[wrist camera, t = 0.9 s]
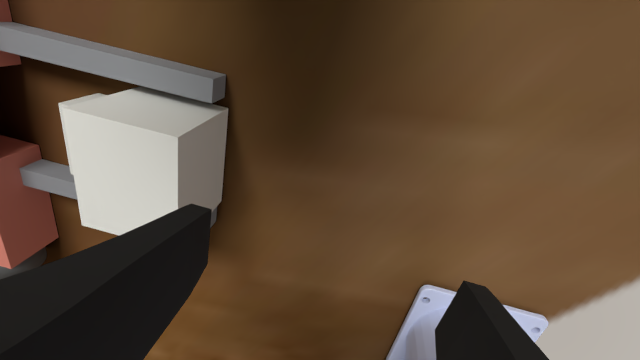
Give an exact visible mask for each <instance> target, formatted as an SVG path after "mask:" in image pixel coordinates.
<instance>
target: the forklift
mask: <svg viewBox="0 0 640 360" xmlns="http://www.w3.org/2000/svg"><path fill="white" fill-rule="evenodd" d="M20 55H21V56H25V57H29V58H33V59H37V60H41V61H45V62H49V63H53V64H56V65H60V66H64V67H68V68H72V69H76V70H80V71H84V72H88V73H92V74H96V75H100V76H104V77H108V78H112V79H116V80H120V81H124V82H128V83H132V84H136V85H140V86H144V87H148V88H152V89H156V90H160V91H164V92H168V93H172V94H176V95H180V96H184V97H188V98H192V99H196V100H200V101H204V102H208V103H214V102H216V101H218V100H220V99H222V98H224V97H225V83H226V74H222V73H217V72H213V71H209V70H205V69H201V68H197V67H193V66H189V65H185V64H181V63H177V62H173V61H169V60H165V59H161V58H157V57H153V56H149V55H145V54H140V53H136V52H132V51H128V50H124V49H120V48H116V47H112V46H108V45H104V44H100V43H96V42H92V41H88V40H84V39H80V38H76V37H72V36H67V35H63V34H59V33H55V32H51V31H47V30H43V29H39V28H35V27H31V26H27V25H23V24H19V23H15V22H12V18H11V13H10V8H9V4H8V0H0V67H2V66H11V65H19V64H21V60H20ZM49 192H51V193H54V194H58V195H62V196H66V197H69V198H73V199H77V193H76V187H75V181H74V175H72V174H71V173H70V167H69V166H66V165H62V164H59V163H55V162H51V161H47V160H44V159H42V157H41V153H40V148H39V145H37V144H33V143H29V142H26V141H22V140H18V139H14V138H10V137H7V136H3V135H0V279H3V278H6V277H9V276H12V275H15V274H18V273H22V272H25V271H28V270H31V269H34V268H37V267H39V266H41V265H42V264H43V262H44V261H45V260H46V257H47V252H46V248H45V246H46V245H48V244H49V243H51V242H52V241H54V240H55V239H57V238H58V237H59V236H58V232H57V227H56V222H55V218H54V213H53V208H52V204H51V199H50V194H49ZM77 200H78V199H77ZM216 216H217V207H216V208H215V209H214V210H213V212H212V213H211V225H210V228H211V227H212V225H213V224H214V223H215V222H216Z"/></svg>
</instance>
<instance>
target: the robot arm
mask: <svg viewBox="0 0 640 360" xmlns="http://www.w3.org/2000/svg"><path fill="white" fill-rule="evenodd" d="M211 212H212V209H209V208H206V207H202V206H199V205H195V204H189V205H186V206H184V207H182V208H179V209H177V210H175V211H173V212H170V213H168V214H166V215H164V216H162V217H160V218H157V219H155V220H153V221H151V222H149V223H147V224H144V225H142V226H140V227H138V228H135V229H133V230H131V231H129V232H126V233H124V234H122V235H120V236H117V237H115V238H112V239H110V240H107V241H105V242H103V243H100V244H98V245H95V246H93V247H90V248H88V249H85V250H83V251H80V252H78V253H75V254H73V255H70V256H68V257H65V258H62V259H59V260H57V261H54V262H51V263H48V264H45V265H43V266H40V267H37V268H34V269H31V270H28V271H25V272H22V273H18V274H15V275H12V276H9V277H6V278H3V279H0V360H143V359H144V358H145V356H146V355H147V354H148V352H149V351H150V349H151V348H152V347H153V345H154V344H155V343H156V341H157V340H158V339H159V337H160V336H161V334H162V333H163V332H164V330H165V329H166V328H167V326H168V325H169V324H170V322H171V321H172V319H173V318H174V317H175V315H176V314H177V312H178V311H179V310H180V308H181V307H182V306H183V304H184V303H185V301H186V300H187V299H188V297H189V296H190V294H191V292H192V291H193V289H194V287H195V285H196V284H197V282H198V280H199V278H200V276H201V275H202V273H203V271H204V269H205V267H206V265H207V262H208V250H209V237H210V225H211ZM424 297H427V298H426V299H423V298H424ZM547 327H548V321H547V319H546V318H545V317H544V316H542V315H539V314H536V313H532V312H528V311H525V310H521V309H517V308H513V307H510V306H506V305H502V304H501V303H500V302H499V300H498V299H497V298H496V297H495V296H494V295H493V294H492V293H491V292H490V291H489V290H488V289H487V288H486V287H485V286H481V285H477V284H474V283H470V282H467V281H463V283H462V284H461V286H460V288H459V289H458V291H457V292H454V291H450V290H447V289H443V288H439V287H436V286H432V285H424V286H422V287H421V288H420V290H419V292H418V294H417V296H416V298H415V300H414V302H413V304H412V306H411V308H410V310H409V312H408V314H407V316H406V318H405V321H404V323H403V325H402V327H401V329H400V331H399V333H398V335H397V337H396V339H395V341H394V343H393V345H392V347H391V349H390V351H389V354H388V356H387V358H386V360H549V359H548V358H547V357H546V355H545V354H544V353H543V352H542V351H541V350H540V348H539V347H538V346H537V345H536V344H535V342H536V340H537V339H538V338H539V337H540V335H541V334H542V333H543V332H544V330H545V329H546V328H547Z"/></svg>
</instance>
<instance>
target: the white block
mask: <svg viewBox="0 0 640 360" xmlns="http://www.w3.org/2000/svg"><path fill="white" fill-rule="evenodd" d="M58 104H59V110H60V115H61V121H62V127H63V133H64V138H65V144H66V150H67V156H68V161H69V167H70V173H71V174H72V175H74V181H75V187H76V193H77V199H78V205H79V211H80V217H81V223H82V225H83V226H87V227H90V228H94V229H98V230H101V231H105V232H108V233H112V234H116V235H119V236H120V235H122V234H124V233H126V232H129V231H131V230H133V229H135V228H138V227H140V226H142V225H144V224H147V223H149V222H151V221H153V220H155V219H157V218H160V217H162V216H164V215H166V214H168V213H170V212H173V211H175V210H177V209H179V208H182V207H184V206H186V205H189V204H195V205H199V206H202V207H206V208H209V209H212V212H213V210H214V209H215V208H216V207H217V206H218V205H219V203H220V202H221V201H222V188H223V174H224V161H225V148H226V134H227V121H228V108H226V107H222V106H218V105H214V104H210V103H206V102H202V101H198V100H194V99H190V98H186V97H182V96H178V95H174V94H170V93H166V92H162V91H158V90H154V89H150V88H146V87H142V86H140V87H137V88H133V89H129V90H125V91H122V92H118V93H114V94H110V95H105V94H101V93H97V94H93V95H89V96H85V97H81V98H77V99H73V100H69V101H65V102H61V103H58ZM212 212H211V213H212Z"/></svg>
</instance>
